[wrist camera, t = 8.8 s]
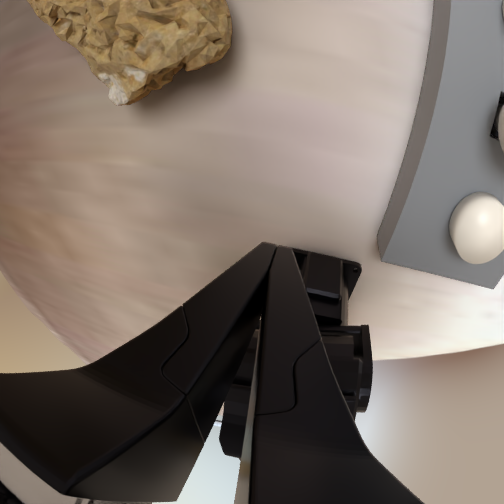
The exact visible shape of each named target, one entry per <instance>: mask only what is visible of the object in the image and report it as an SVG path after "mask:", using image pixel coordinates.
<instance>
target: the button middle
mask: <svg viewBox="0 0 504 504" xmlns="http://www.w3.org/2000/svg"><path fill="white" fill-rule="evenodd" d="M494 125H495V127H496V129H497V130H498V134H499V141H500V145H501V147H502V150H503V152H504V104H501V105H499V106H498V107H497V111H496V115H495V118H494Z"/></svg>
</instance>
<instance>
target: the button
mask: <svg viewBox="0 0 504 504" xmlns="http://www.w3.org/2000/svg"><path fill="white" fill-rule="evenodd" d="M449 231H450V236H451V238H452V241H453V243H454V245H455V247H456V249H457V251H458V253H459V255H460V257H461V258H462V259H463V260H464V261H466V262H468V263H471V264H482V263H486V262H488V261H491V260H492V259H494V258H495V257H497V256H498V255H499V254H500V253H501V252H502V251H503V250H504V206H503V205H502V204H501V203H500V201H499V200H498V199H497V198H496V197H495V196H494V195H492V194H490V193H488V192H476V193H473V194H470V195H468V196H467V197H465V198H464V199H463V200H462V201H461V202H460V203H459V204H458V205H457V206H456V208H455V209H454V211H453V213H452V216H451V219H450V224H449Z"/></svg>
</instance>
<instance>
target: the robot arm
mask: <svg viewBox="0 0 504 504" xmlns="http://www.w3.org/2000/svg"><path fill="white" fill-rule="evenodd" d="M354 268H357V269H356V270H354ZM361 271H362V267H361V265H360V264H359V263H357V262H352V261H348V260H344V259H339V258H335V257H330V256H326V255H322V254H317V253H313V252H308V251H303V250H299V249H294V248H290V247H285V246H281V245H279V246H276V245H275V244H272V243H267V242H262V243H261V244H259V245H258V246H257V247H256V248H254V249H253V250H252V251H250V252H249V253H248V254H247V255H245V256H244V257H243V258H241V259H240V260H239V261H238V262H236V263H235V264H234V265H232V266H231V267H230V268H229V269H227V270H226V271H225V272H223V273H222V274H221V275H220V276H218V277H217V278H216V279H214V280H213V281H212V282H211V283H209V284H208V285H207V286H205V287H204V288H203V289H202V290H200V291H199V292H198V293H196V294H195V295H194V296H193V297H191V298H190V299H189V300H188V301H186V302H185V303H184V304H183V306H180V307H178V308H177V309H176V310H175V311H173V312H172V313H171V314H169V315H168V316H167V317H165V318H164V319H162V320H161V321H160V322H158V323H157V324H156V325H154V326H153V327H151V328H149V329H148V330H146V331H145V332H143V333H142V334H140V335H139V336H137V337H135V338H134V339H132V340H130V341H129V342H127V343H125V344H124V345H122V346H120V347H119V348H117V349H115V350H114V351H112V352H110V353H109V354H107V355H105V356H104V357H102V358H100V359H99V360H97V361H95V362H93V363H91V364H88V365H86V366H83V367H80V368H76V369H70V370H60V371H48V372H31V373H4V374H3V373H0V504H152V502H173V501H176V500H177V499H178V497H179V495H180V493H181V491H182V488H183V487H184V485H185V483H186V481H187V479H188V477H189V475H190V473H191V471H192V469H193V467H194V464H195V462H196V460H197V458H198V456H199V454H200V452H201V450H202V448H203V446H204V443H205V442H206V439H207V437H208V435H209V433H210V431H211V429H212V427H213V424H214V422H215V420H216V418H217V416H218V414H219V411H220V409H221V407H222V405H223V403H224V413H223V419H222V425H221V430H220V436H219V441H220V444H221V446H222V450H223V452H224V454H225V455H228V456H233V457H237V458H239V459H240V461H241V462H240V469H239V475H238V482H237V488H236V494H235V500H234V504H424V503H423V502H422V501H421V500H420V499H419V498H418V497H417V496H415V495H414V494H413V493H412V492H411V491H410V490H409V489H407V487H405V486H404V485H403V484H402V483H401V482H400V481H399V480H398V479H397V478H396V477H395V476H394V475H393V474H392V473H390V472H389V471H388V470H387V469H386V468H385V467H384V466H383V465H382V464H381V463H380V462H379V461H378V460H377V459H376V458H375V457H374V456H373V455H372V453H371V452H370V451H369V449H368V448H367V446H366V445H365V443H364V441H363V439H362V437H361V435H360V433H359V431H358V428H357V426H356V424H355V417H356V412H365V411H366V409H367V406H368V403H369V398H370V393H371V386H372V374H373V363H372V351H371V342H370V333H369V325H361V326H348V300H349V298H350V296H351V294H352V292H353V289H354V287H355V285H356V283H357V281H358V278H359V276H360V274H361ZM261 314H262V315H261ZM260 317H261V320H260Z"/></svg>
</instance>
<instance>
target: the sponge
mask: <svg viewBox="0 0 504 504" xmlns="http://www.w3.org/2000/svg"><path fill="white" fill-rule="evenodd" d="M27 1H28V2H29V3H30V5H31V7H32V8H33V9H34V12H35V13H36V14H37V16H38V17H39V18H40V19H41V20H42V21H43V22H45V23H47V24H48V25H49V26H51V27H52V28H53V30H54V32H55V34H56V35H57V36H58V37H59V38H60V39H61V40H62V41H66V42H68V43H69V44H71V45H72V46H74V47H75V48H77V49H78V50H79V52H80V53H81V54H82V55H83V56H84V57H85V59H86V60H87V62H88V64H89V66H90V68H91V71H92V73H93V74H94V75H95V76H96V77H97V78H98V79H99V80H101V81H102V82H103V83H104V84H105V85H106V86H108V87H109V88H110V91H109V97H108V98H109V99H110V100H111V101H112V102H113V103H114V104H115V105H116V106H121V105H130V104H132V103H135V102H137V101H139V100H141V99H142V98H144V97H145V96H147V95H148V94H149V93H150V92H151V90H157V89H161V88H162V86H163V85H165V84H167V83H169V82H171V81H172V79H173V75H175V74H176V73H177V72H178V71H180V70H181V69H182V68H184V69H185V70H186V71H191V70H199V69H200V68H201V67H202V66H204V65H206V64H208V63H210V64H212V63H214V62H216V61H218V60H220V59H222V58H223V56H224V55H225V53H226V52H227V51H228V49H229V48H230V47H231V34H232V23H231V16H230V12H229V9H228V5H227V3H226V0H27Z"/></svg>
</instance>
